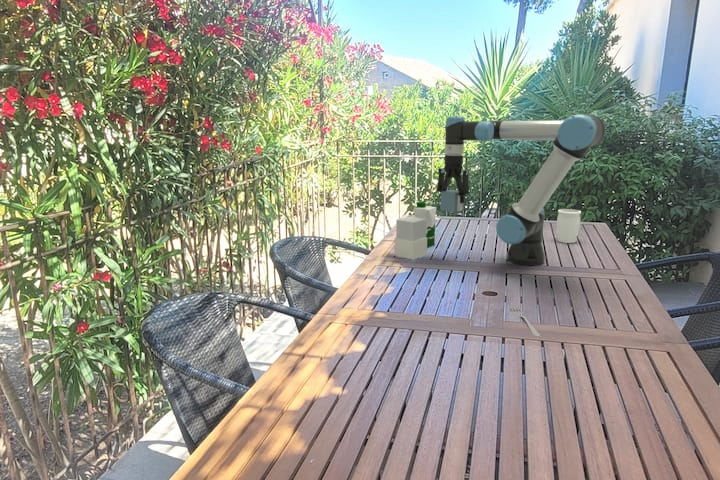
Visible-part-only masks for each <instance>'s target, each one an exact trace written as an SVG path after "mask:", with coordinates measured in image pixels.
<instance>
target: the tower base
mask: <svg viewBox="0 0 720 480" xmlns="http://www.w3.org/2000/svg"><path fill="white" fill-rule="evenodd" d="M393 252H394V256H396V257H399V258H404V259H408V260H417V259H419V258H423V257H425V256H427V255H428V248H427V237H426V238H422V239H419V240H416V241H409V240H404V239H399V238H396V237H394V250H393Z"/></svg>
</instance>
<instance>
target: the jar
mask: <svg viewBox="0 0 720 480" xmlns="http://www.w3.org/2000/svg"><path fill="white" fill-rule="evenodd" d="M557 213H558V215H557V219H556V233H557V236H558V238H557V241H558V242H559V243H563V244H575V243H576V242H577V237H578V234H579V231H580V227H581V214H582V211H581V210H578V209H573V208H559V209H558V210H557Z"/></svg>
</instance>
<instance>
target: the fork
mask: <svg viewBox="0 0 720 480" xmlns="http://www.w3.org/2000/svg"><path fill="white" fill-rule="evenodd" d="M509 305H510V308H511V311H512V314H515V315H517V314H521V315H518V316H517V317H518V318H522V319H523V320H524V321H525V323H526V325H527V326H528V328H529V330H530V332H531V333H532V335H534V336H536V337H540V333H539V332H538V330H536V329H535V327H534V326H533V325H532V324H531V323H530V321H529V320H528V319H527V318H526V316H524V315H522V314H524V312H523V311H522V309H521V307H520V305H519V303H514V304H512V303H510V304H509Z"/></svg>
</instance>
